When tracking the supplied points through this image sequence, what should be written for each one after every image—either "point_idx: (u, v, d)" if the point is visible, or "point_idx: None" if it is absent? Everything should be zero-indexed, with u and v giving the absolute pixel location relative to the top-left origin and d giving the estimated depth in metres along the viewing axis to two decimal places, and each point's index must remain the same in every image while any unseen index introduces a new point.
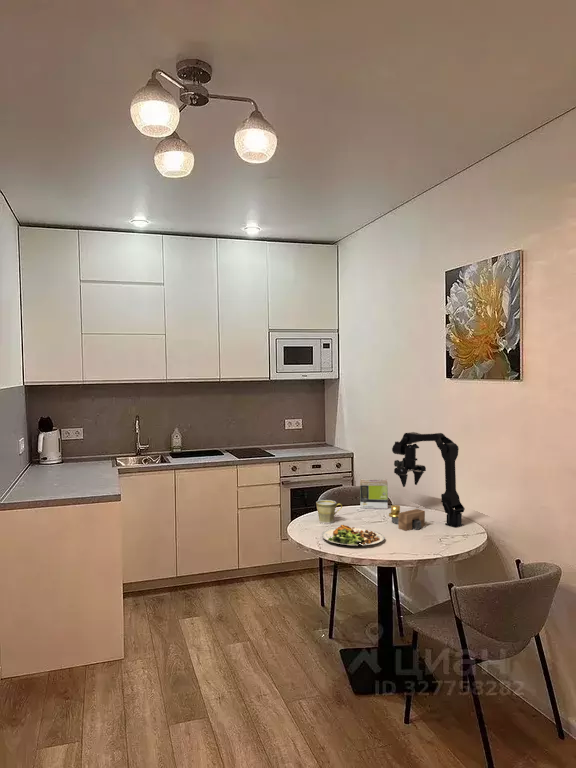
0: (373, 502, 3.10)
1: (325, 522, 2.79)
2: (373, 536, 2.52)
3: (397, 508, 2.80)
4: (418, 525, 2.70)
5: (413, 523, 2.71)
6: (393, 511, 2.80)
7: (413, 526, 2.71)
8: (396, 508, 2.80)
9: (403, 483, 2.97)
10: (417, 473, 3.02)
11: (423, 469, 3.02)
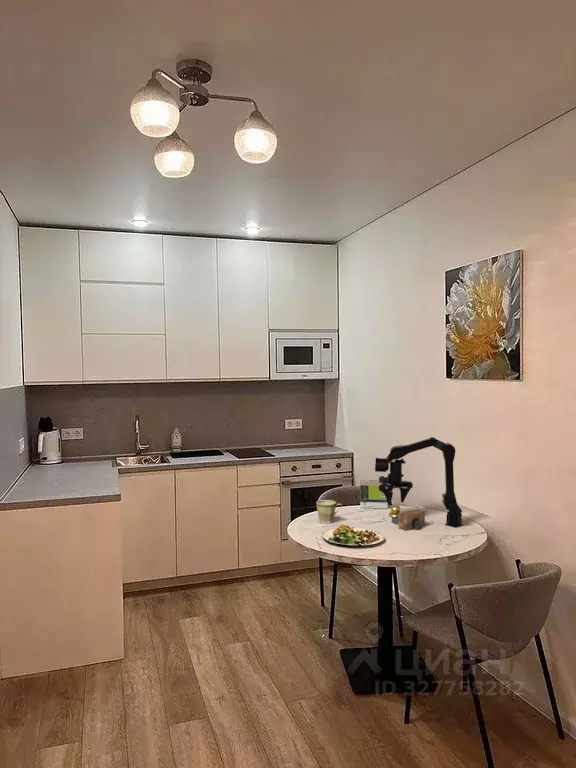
0: (373, 502, 3.10)
1: (325, 522, 2.79)
2: (373, 536, 2.52)
3: (397, 508, 2.80)
4: (418, 525, 2.70)
5: (413, 523, 2.71)
6: (393, 511, 2.80)
7: (413, 526, 2.71)
8: (396, 508, 2.80)
9: (388, 501, 2.78)
10: (403, 490, 2.84)
11: (410, 486, 2.83)
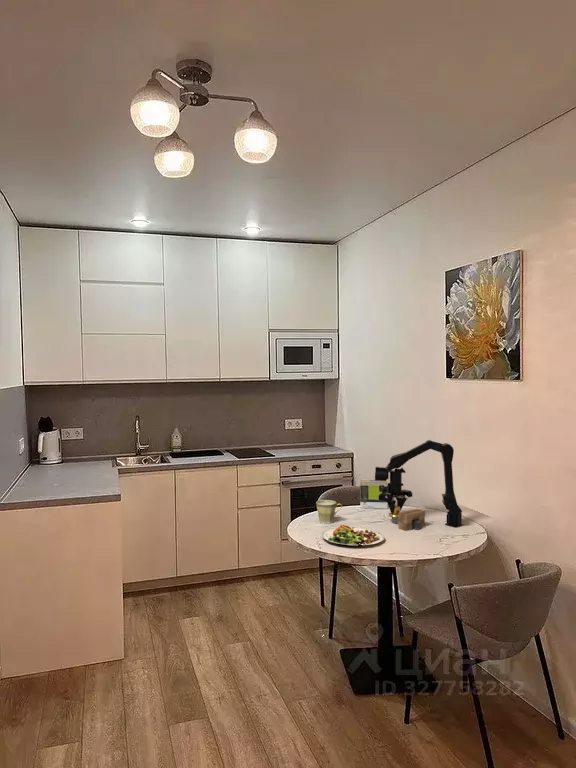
0: (373, 502, 3.10)
1: (325, 522, 2.79)
2: (373, 536, 2.52)
3: (397, 508, 2.80)
4: (418, 525, 2.70)
5: (413, 523, 2.71)
6: None
7: (413, 526, 2.71)
8: (396, 508, 2.80)
9: (391, 509, 2.80)
10: (400, 499, 2.83)
11: (409, 495, 2.83)
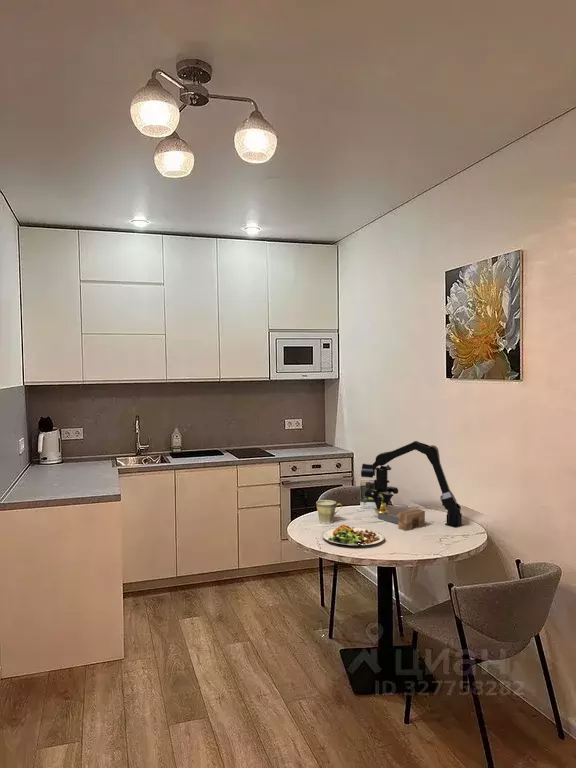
0: (373, 502, 3.10)
1: (325, 522, 2.79)
2: (373, 536, 2.52)
3: (383, 504, 2.87)
4: None
5: (398, 519, 2.78)
6: None
7: (398, 522, 2.78)
8: (382, 504, 2.87)
9: (377, 506, 2.87)
10: (386, 496, 2.90)
11: (395, 491, 2.91)
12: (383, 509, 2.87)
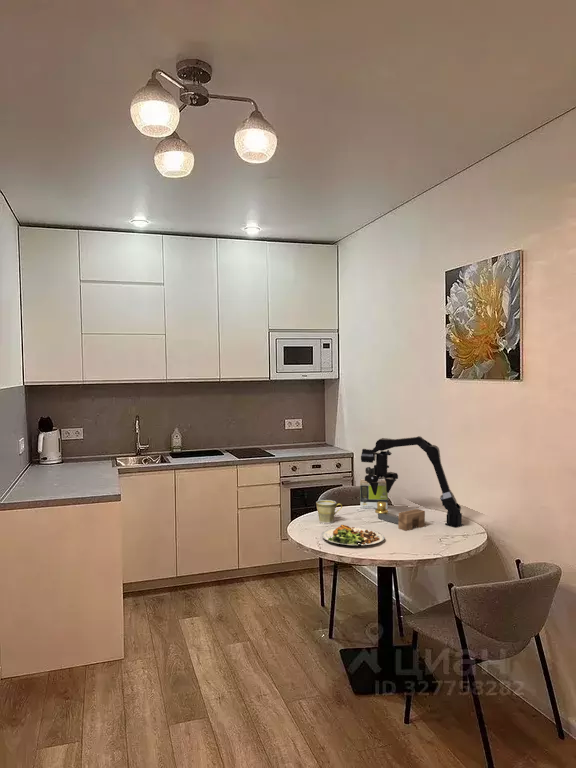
0: (373, 502, 3.10)
1: (325, 522, 2.79)
2: (373, 536, 2.52)
3: (383, 504, 2.87)
4: None
5: (398, 519, 2.78)
6: (379, 507, 2.88)
7: (398, 522, 2.78)
8: (382, 504, 2.87)
9: (374, 491, 2.86)
10: (389, 481, 2.92)
11: (395, 477, 2.91)
12: (383, 509, 2.87)
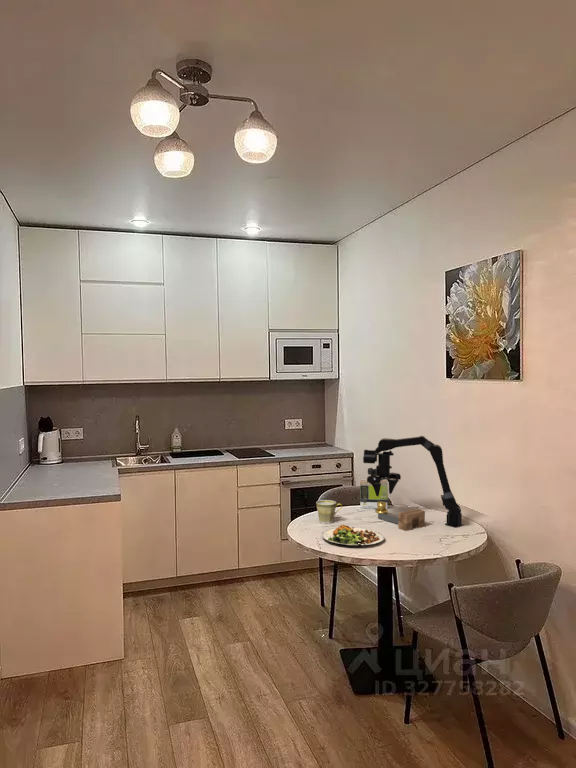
0: (373, 502, 3.10)
1: (325, 522, 2.79)
2: (373, 536, 2.52)
3: (383, 504, 2.87)
4: None
5: (398, 519, 2.78)
6: (379, 507, 2.88)
7: (398, 522, 2.78)
8: (382, 504, 2.87)
9: (376, 492, 2.82)
10: (392, 481, 2.88)
11: (398, 477, 2.87)
12: (383, 509, 2.87)
